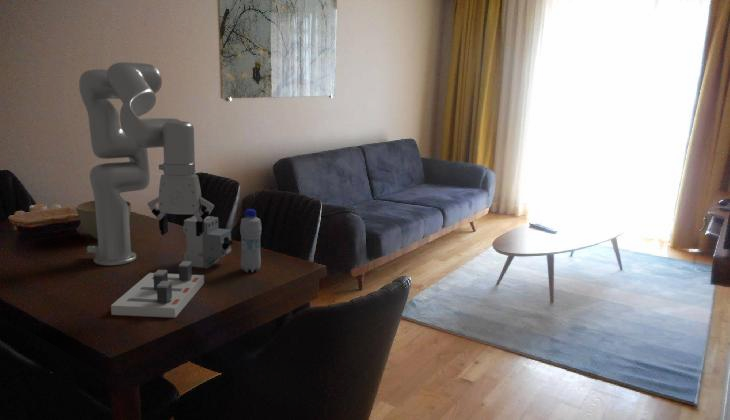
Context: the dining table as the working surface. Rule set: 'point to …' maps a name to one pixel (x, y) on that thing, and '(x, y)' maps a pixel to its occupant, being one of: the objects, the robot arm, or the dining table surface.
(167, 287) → the block
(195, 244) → the circuit breaker
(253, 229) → the bottle
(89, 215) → the olive rounded bowl
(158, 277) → the block
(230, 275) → the dining table surface
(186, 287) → the breaker panel
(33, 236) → the dining table surface
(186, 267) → the block
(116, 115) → the robot arm
